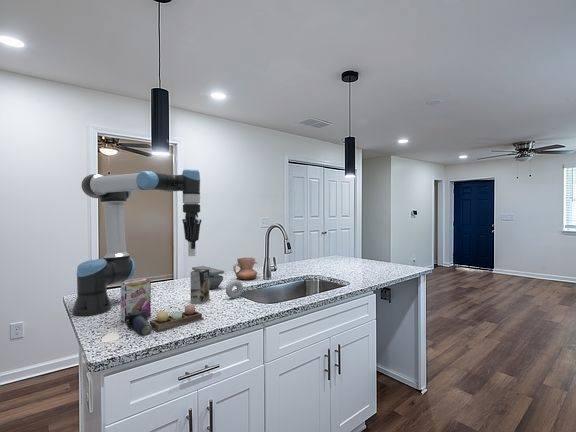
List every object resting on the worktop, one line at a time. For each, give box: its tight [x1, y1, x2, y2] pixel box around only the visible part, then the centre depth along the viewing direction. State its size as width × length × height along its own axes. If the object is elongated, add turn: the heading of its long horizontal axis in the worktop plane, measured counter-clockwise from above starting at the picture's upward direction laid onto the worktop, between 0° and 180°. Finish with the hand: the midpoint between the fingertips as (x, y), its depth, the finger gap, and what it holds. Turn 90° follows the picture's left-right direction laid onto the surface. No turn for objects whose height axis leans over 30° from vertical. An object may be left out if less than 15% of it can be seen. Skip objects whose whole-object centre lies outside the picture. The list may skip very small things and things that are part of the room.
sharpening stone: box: [191, 265, 225, 290], centre depth 193 cm, size 25×8×11 cm, turn 44°
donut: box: [225, 279, 244, 299], centre depth 167 cm, size 10×4×10 cm, turn 130°
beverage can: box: [125, 309, 152, 336], centre depth 122 cm, size 9×8×12 cm
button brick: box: [184, 304, 196, 314], centre depth 134 cm, size 4×4×3 cm
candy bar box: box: [120, 278, 152, 324], centre depth 135 cm, size 11×5×16 cm, turn 141°
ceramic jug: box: [232, 256, 259, 281], centre depth 215 cm, size 18×14×14 cm
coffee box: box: [190, 269, 210, 305], centre depth 161 cm, size 9×6×16 cm
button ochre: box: [156, 311, 169, 321], centre depth 125 cm, size 4×4×3 cm
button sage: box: [170, 311, 183, 320], centre depth 130 cm, size 4×4×3 cm
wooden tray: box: [149, 310, 204, 333], centre depth 130 cm, size 9×20×2 cm, turn 137°
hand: (191, 255), depth 141 cm, fingers closed
